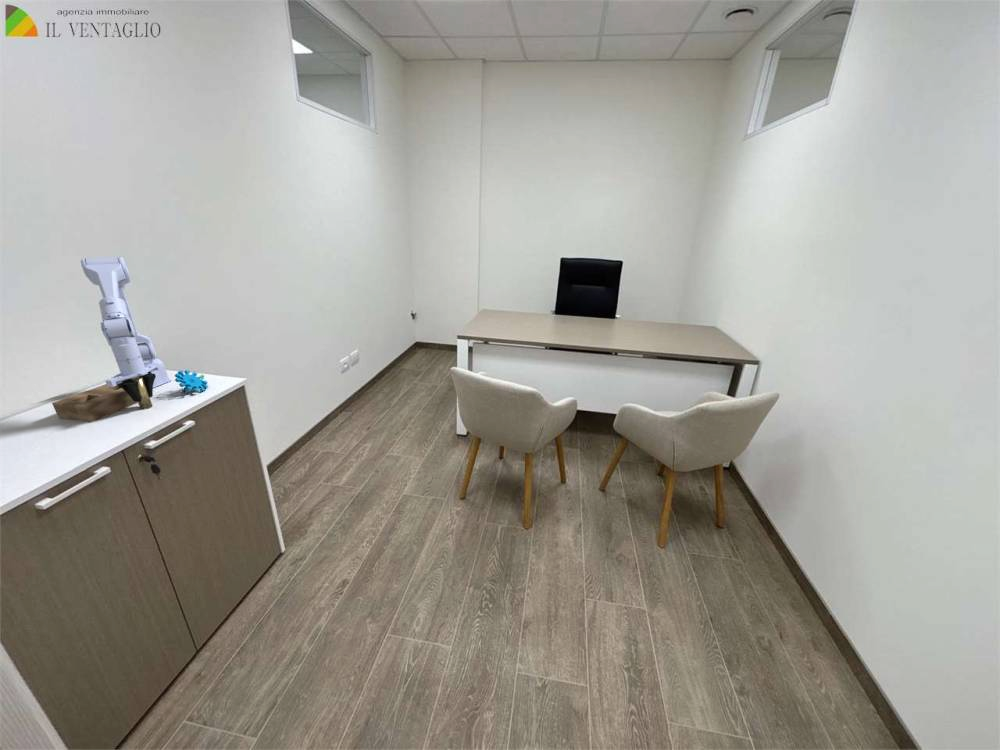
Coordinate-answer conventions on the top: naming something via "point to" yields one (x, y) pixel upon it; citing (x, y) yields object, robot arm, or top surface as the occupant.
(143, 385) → the peg
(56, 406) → the hole block
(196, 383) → the gear
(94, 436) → the top surface
